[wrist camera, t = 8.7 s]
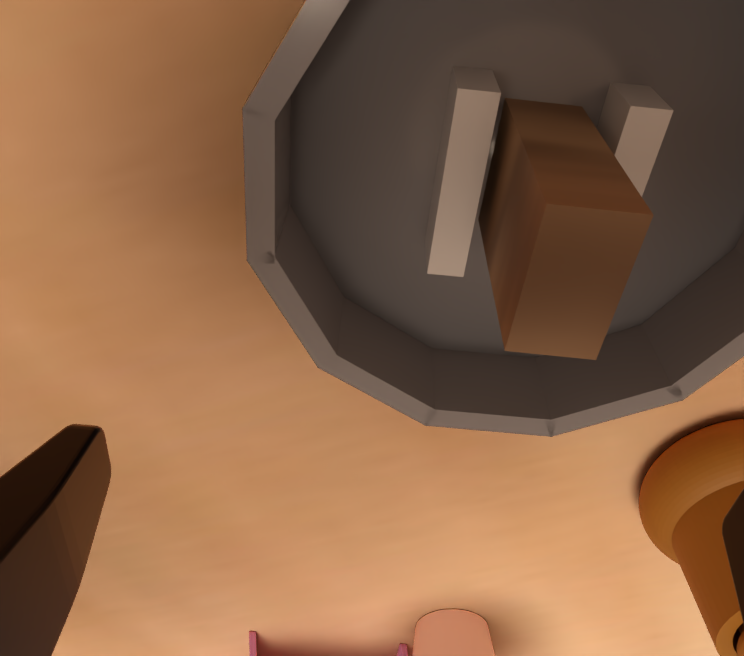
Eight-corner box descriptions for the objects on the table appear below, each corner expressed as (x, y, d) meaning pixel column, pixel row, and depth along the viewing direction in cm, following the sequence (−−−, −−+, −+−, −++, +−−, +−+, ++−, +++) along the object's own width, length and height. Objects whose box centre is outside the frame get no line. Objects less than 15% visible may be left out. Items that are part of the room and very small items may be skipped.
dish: (682, 376, 23) (721, 451, 20) (269, 339, 23) (251, 410, 20) (928, -121, 14) (1056, -108, 12) (266, -195, 14) (232, -201, 11)
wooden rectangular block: (546, 226, 19) (595, 359, 14) (478, 219, 19) (504, 351, 14) (582, 106, 17) (653, 215, 12) (504, 97, 17) (546, 203, 12)
